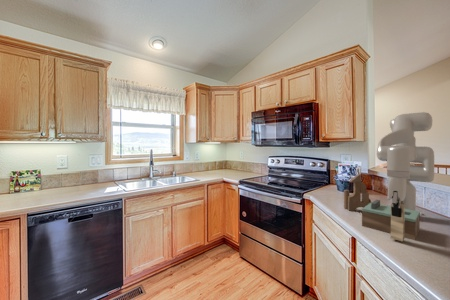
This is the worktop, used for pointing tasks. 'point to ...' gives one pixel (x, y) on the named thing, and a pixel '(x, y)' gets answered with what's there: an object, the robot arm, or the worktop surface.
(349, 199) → the wooden toy
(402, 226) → the block
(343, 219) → the worktop surface
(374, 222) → the open wooden box
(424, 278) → the worktop surface
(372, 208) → the lid
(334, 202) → the worktop surface
